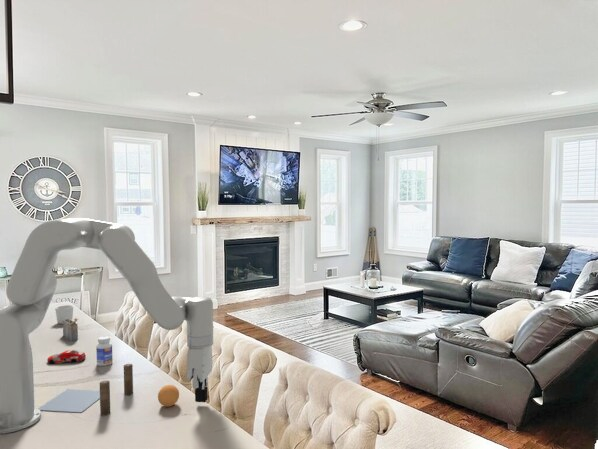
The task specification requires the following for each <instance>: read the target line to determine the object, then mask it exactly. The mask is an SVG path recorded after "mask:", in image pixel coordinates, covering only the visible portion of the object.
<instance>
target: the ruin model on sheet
mask: <svg viewBox="0 0 598 449" xmlns="http://www.w3.org/2000/svg"><path fill="white" fill-rule="evenodd" d="M78 321H79V318H77V317H75V318H74V319H72V320H70V323H69V319H65V320H63V324H62V335H63V337H65V338H66V339H68V340H69V341H70V342H75V341H78V340H79V332H78V330H79V329H78V323H76V322H78Z"/></svg>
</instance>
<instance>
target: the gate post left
mask: <svg viewBox="0 0 598 449" xmlns="http://www.w3.org/2000/svg"><path fill="white" fill-rule="evenodd" d="M110 389H111V386H110V380H103V381H100V382H99V391H100V399H99V407H100V409H99V410H100V416H101V417H102V416H103V415H105V416H108V415H110V414H111V394H110V393H111V390H110Z"/></svg>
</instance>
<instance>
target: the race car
mask: <svg viewBox="0 0 598 449" xmlns="http://www.w3.org/2000/svg"><path fill="white" fill-rule="evenodd" d="M86 358H87V357H86V354H85V351H80V350H74V349H72V350H71V349H70V350H64V351H62V352H60V353H56V354H52V355H50V356H48V357H47V359H46V360H47V364H49V365H54V364H76V363H79V362H82V361H84V360H85V359H86Z"/></svg>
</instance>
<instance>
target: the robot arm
mask: <svg viewBox="0 0 598 449" xmlns="http://www.w3.org/2000/svg"><path fill="white" fill-rule="evenodd" d="M79 248H87V249H93V250H94V249H95V250H99V251H101V252H102V253H103V255H104V256H105V257H106V259H108V260H109V262H110V263H111V264H112V265H113V266H114V267H115V269H116V270H117V271H118V272H119V273H120V274H121V276H122V277H123V278H124V279H125V281H126V282H127V283H128V285H129V287H130V288H131V290H132V292H133V293H134V296H136V298H137V300H138V301H139V304H140V305H141V306H142V307H143V309H144V310H145V311H146V312H147V314H148V315H149V316H150V317H151V318H152V320H154V322H155V323H156V324H157V325H158V326H159V327H161V328H162V329H164V330H167V331H173V330H174V331H175V330H176V329H179V328H180V327H181V326H182V324H183V323H184V321H186V338H187V339H186V344H187V345H186V346H187V347H188V348H187V349H188V350H187V355H186V379H185V380H186V382H188V383H190V382H191V381H192V388H193V389H194V402H195V403H206V402H207V400H208V384H209V383H208V381H209V380H208V379H209V378H208V377H209V375H210V374H211V373H212V371H213V345H214V302H213V299H212V298H211V297H208V296H194V297H188V296H187V297H184V296H176V295H175V296H171V295H170V293H169V292H168V291H167V289H166V288H165V286H164V285H163V284H162V281H161V280H160V277H159V274H158V271H157V268H156V266H155V264H154V262H153V261H152V260H151V259H150V257H149V256H148V255H147V254H146V252H144V250H143V249H142V248H141V247H140V245H139V244H138V243H137V242H136V237H135V232H134V231H133V230H132V229H131V228H130V227H128V226H127V225H125V224H120V223H115V222H114V223H113V222H107V221H101V220H95V219H90V218H83V217H75V218H74V217H73V218H63V219H60V218H59V219H55V220H54V219H53V220H49V221H45V222H43V223H40V224H39V225H37V226H36V227H34V229H33V230H31V232H30V234H29V235H28V236H27V239H26V240H25V243H24V246H23V248H22V250H21V253H20V255H19V257H18V259H17V262H16V264H15V266H14V269H13V272H12V273H11V276H10V278H9V280H8V283H7V285H6V292H5V293H6V297H7V299H8V300H9V301H10V303H11V305H9V306H6V307H5V308H3V309H1V310H0V434H9V433H15V432H18V431H20V430H24V429H26V428H29V427H31V426H33V425H35V424H36V423H37V422H38V421H40V419H41V418H42V411H40V410H39V409H38V408H36V407H35V389H34V386H35V383H34V358H33V351H32V350H33V348H32V346H31V342H30V337H29V336H30V334H31V333H33V332H34V331H35V330H36V329H38V328H39V326H41V324H42V322H43V321H44V319H45V316H46V314H47V312H48V310H49V306H50V304H51V302H52V300H53V296H54V294H55V292H56V288H57V283H58V282H57V276H56V274H55V272H54V271H53V269H54V266H55V265H56V263H57V258H58V255H59V253H60V252H61V251H65V250H68V251H69V250H70V251H71V250H75V249H79Z"/></svg>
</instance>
